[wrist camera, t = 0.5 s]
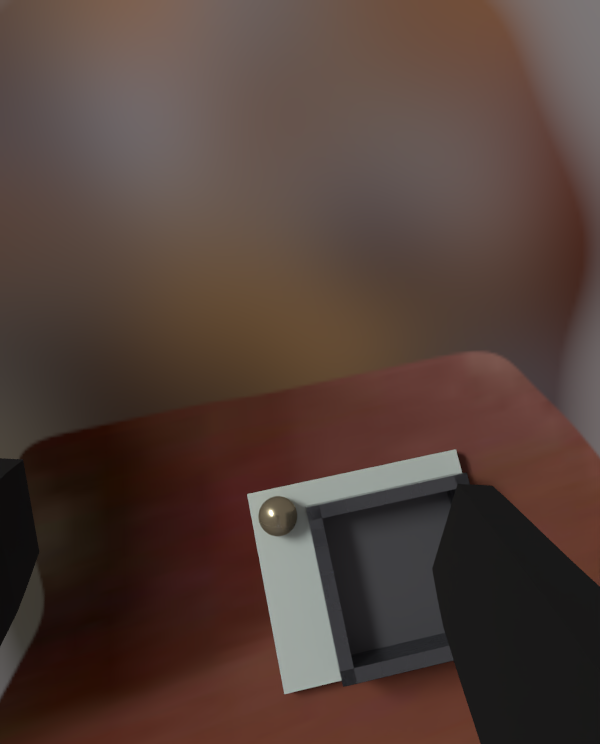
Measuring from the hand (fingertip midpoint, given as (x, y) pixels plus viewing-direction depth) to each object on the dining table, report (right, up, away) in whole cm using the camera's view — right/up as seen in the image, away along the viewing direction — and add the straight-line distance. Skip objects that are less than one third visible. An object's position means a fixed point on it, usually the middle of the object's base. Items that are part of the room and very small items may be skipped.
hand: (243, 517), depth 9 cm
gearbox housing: (+6, -10, +26) cm, 29 cm away
